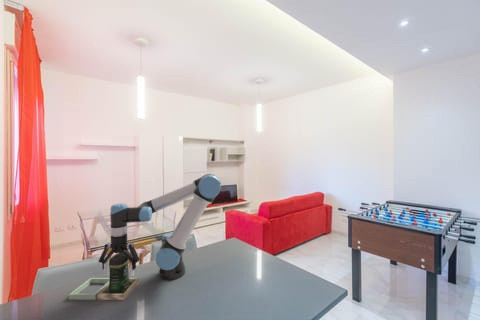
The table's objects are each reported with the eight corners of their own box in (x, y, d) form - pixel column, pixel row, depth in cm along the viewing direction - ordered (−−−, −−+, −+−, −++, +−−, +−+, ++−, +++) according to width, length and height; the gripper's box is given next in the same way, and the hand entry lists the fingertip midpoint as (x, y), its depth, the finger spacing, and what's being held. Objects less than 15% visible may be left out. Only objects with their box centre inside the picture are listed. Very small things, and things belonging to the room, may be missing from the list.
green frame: (113, 282, 123) (113, 278, 123) (95, 299, 108) (95, 294, 108) (90, 282, 123) (90, 277, 123) (69, 299, 108) (69, 294, 108)
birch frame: (138, 282, 123) (138, 278, 123) (123, 299, 108) (123, 294, 108) (115, 282, 123) (115, 278, 123) (97, 299, 108) (97, 294, 108)
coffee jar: (121, 296, 110) (121, 258, 110) (106, 296, 110) (105, 258, 111) (131, 285, 120) (131, 250, 120) (117, 285, 120) (117, 250, 120)
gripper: (146, 231, 119) (146, 272, 119) (100, 231, 119) (100, 271, 119) (139, 236, 111) (139, 279, 111) (90, 236, 112) (90, 279, 112)
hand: (119, 275), depth 115 cm, fingers open, 13 cm apart
